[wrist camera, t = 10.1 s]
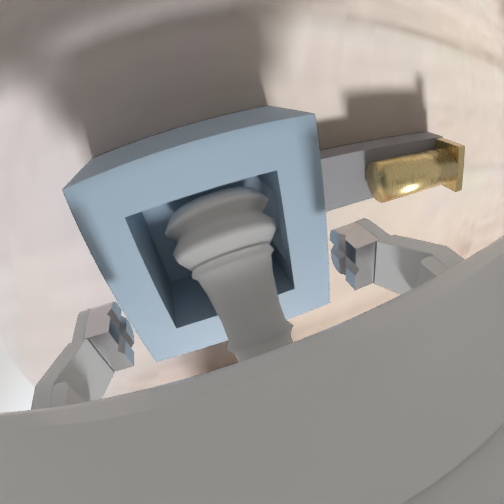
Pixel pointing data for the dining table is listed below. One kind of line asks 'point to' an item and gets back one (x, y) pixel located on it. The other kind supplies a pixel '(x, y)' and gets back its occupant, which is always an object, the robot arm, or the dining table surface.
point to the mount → (207, 181)
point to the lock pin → (417, 171)
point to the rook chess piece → (234, 266)
